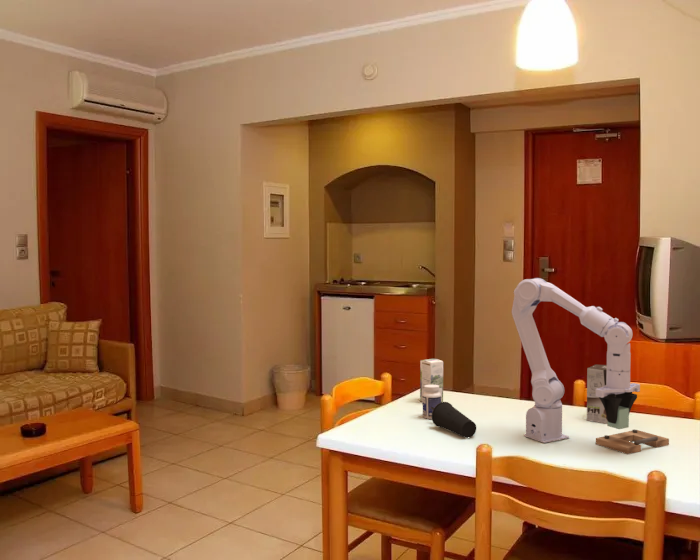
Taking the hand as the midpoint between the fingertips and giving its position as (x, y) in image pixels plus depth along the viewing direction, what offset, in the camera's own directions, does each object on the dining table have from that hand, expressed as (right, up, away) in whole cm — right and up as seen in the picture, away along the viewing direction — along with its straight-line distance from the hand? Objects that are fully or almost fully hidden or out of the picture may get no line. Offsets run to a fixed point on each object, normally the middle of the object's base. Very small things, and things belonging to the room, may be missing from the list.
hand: (617, 421), depth 168 cm
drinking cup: (-37, -4, +10) cm, 38 cm away
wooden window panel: (+5, -7, +3) cm, 9 cm away
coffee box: (+7, -6, +29) cm, 30 cm away
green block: (0, -1, 0) cm, 1 cm away
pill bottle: (-44, -6, +33) cm, 56 cm away
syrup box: (-42, -5, +54) cm, 68 cm away
